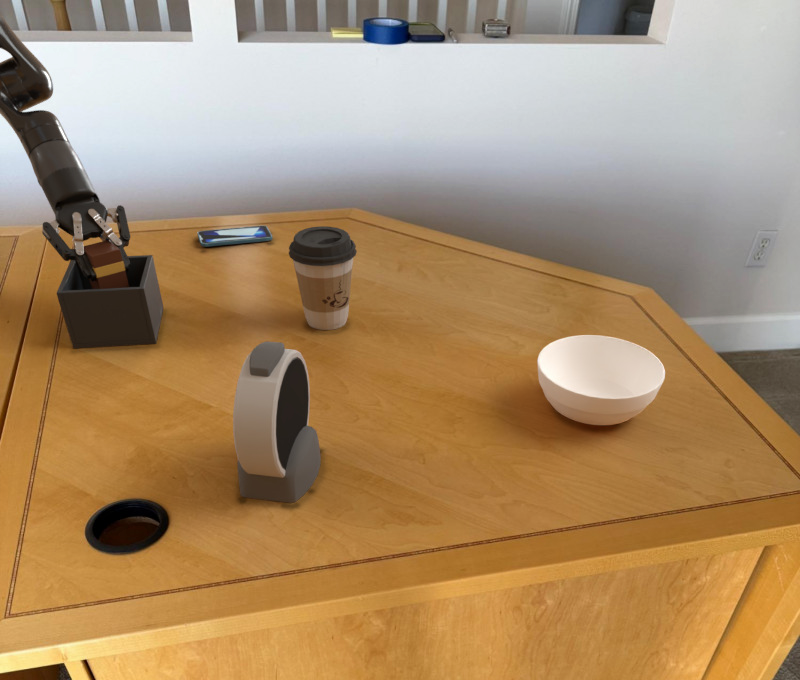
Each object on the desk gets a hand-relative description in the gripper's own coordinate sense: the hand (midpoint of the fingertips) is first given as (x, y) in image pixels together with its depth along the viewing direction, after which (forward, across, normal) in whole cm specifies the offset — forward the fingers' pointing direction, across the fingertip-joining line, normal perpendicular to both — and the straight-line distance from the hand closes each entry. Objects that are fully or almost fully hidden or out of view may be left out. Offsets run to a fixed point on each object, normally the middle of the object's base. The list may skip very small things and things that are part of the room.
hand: (110, 274), depth 127 cm
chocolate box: (+2, 0, +4) cm, 5 cm away
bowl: (+54, +47, -39) cm, 81 cm away
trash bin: (+6, 0, +8) cm, 10 cm away
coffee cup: (+20, +30, -5) cm, 37 cm away
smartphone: (-11, +35, +25) cm, 45 cm away
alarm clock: (+43, +1, -28) cm, 52 cm away
